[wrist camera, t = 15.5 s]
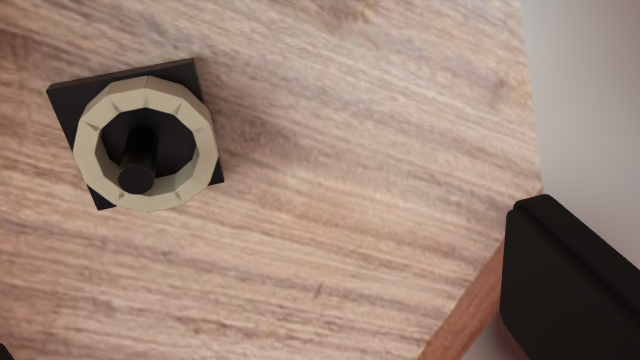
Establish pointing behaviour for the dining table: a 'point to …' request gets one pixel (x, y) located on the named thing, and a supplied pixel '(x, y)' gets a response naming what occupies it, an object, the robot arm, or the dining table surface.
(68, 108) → the peg stand
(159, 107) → the tape roll
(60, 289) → the dining table surface
